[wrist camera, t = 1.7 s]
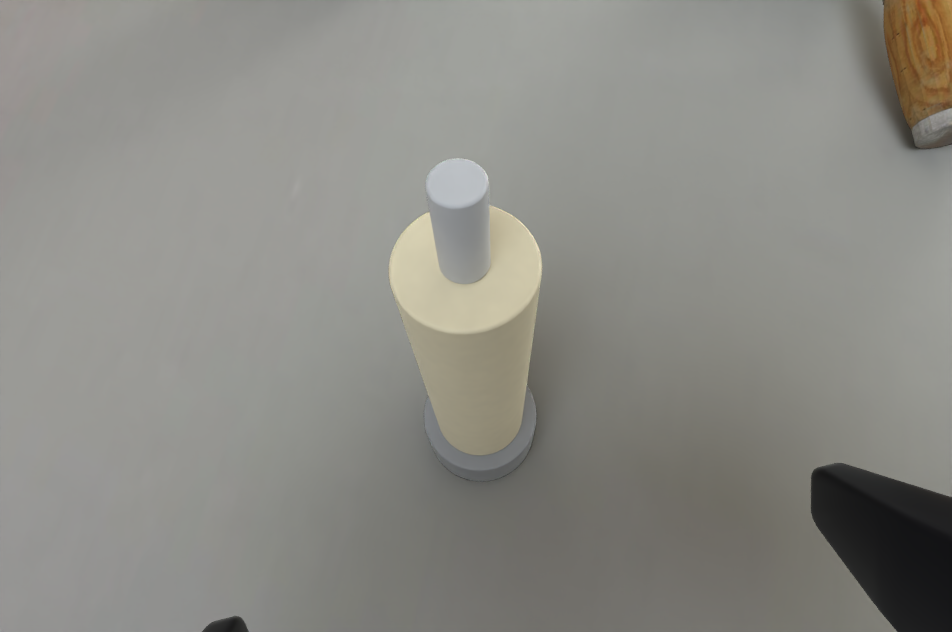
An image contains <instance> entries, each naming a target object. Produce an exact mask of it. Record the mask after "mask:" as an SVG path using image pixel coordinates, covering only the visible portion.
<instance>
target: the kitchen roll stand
mask: <svg viewBox="0 0 952 632" xmlns="http://www.w3.org/2000/svg"><path fill="white" fill-rule="evenodd" d="M425 189H426V195H427V201H428V206H429V212H427V213H425V214H424V215H422V216H420V217H419V218H418V219H416V220H415V221H413V222H412V223H411V224H410V225H409V226H408V227H407V228H406V229H405V230H404V232H403V233H402V234H401V235H400V237H399V239H398V240H397V242H396V244H395V246H394V248H393V251H392V253H391V257H390V261H389V281H390V286H391V289H392V292H393V295H394V298H395V300H396V303H397V306H398V309H399V312H400V315H401V318H402V321H403V323H404V326H405V329H406V332H407V335H408V338H409V341H410V344H411V347H412V349H413V352H414V355H415V358H416V361H417V364H418V367H419V370H420V372H421V375H422V378H423V381H424V384H425V387H426V390H427V393H428V397H427V400H426V403H425V408H424V425H425V431H426V433H427V436H428V439H429V441H430V443H431V446H432V448H433V450H434V452H435V454H436V456H437V458H438V459H439V461H440V462H441V463H442V464H443V465H444V466H445V467H446V468H447V469H448V470H449V471H451V472H452V473H454V474H455V475H457V476H459V477H461V478H464V479H467V480H472V481H491V480H495V479H498V478H501V477H504V476H505V475H507V474H509V473H511V472H512V471H513V470H515V469H516V468H517V467H518V466H519V465H520V464H521V463H522V461H523V460H524V459H525V457H526V455H527V454H528V452H529V449H530V447H531V444H532V440H533V436H534V431H535V427H536V406H535V402H534V398H533V396H532V394H531V391H530V390H529V388H528V386H527V379H528V372H529V364H530V357H531V349H532V342H533V335H534V327H535V320H536V312H537V305H538V298H539V290H540V283H541V276H542V259H541V254H540V250H539V247H538V245H537V243H536V241H535V239H534V237H533V236H532V234H531V233H530V231H529V230H528V229H527V228H526V227H525V226H524V225H523V224H522V223H521V222H520V221H519V220H518V219H517V218H515V217H514V216H512V215H511V214H509V213H507V212H505V211H503V210H501V209H499V208H496V207H493V206H489V180H488V176H487V174H486V172H485V171H484V170H483V168H482V167H481V166H479V165H478V164H477V163H475V162H473V161H471V160H467V159H461V158H455V159H449V160H446V161H443V162H441V163H439V164H437V165H436V166H435V167H434V168H433V169H432V170H431V171H430V173H429V174H428V176H427V179H426V182H425Z"/></svg>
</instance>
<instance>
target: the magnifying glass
mask: <svg viewBox="0 0 952 632" xmlns="http://www.w3.org/2000/svg"><path fill="white" fill-rule="evenodd" d="M883 5H884V35H885V42H886V48H887V53H888V58H889V63H890V67H891V72H892V76H893V80H894V83H895V87H896V91H897V94H898V98H899V101H900V105H901V108H902V111H903V114H904V117H905V119H906V121H907V124H908V125H909V127H910V129H911V130H912V135H913V139H914V143H915V146H916V147H918V148H926V149H930V148H936V147H942V146H946V145H950V144H952V0H883Z"/></svg>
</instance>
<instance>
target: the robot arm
mask: <svg viewBox="0 0 952 632" xmlns="http://www.w3.org/2000/svg"><path fill="white" fill-rule="evenodd" d="M811 513H812V517H813V520H814V522H815V524H816V526H817V527H818V529H819V530H820V531H821V533H822V534H823V536H824V537H825V538H826V540H827V541H828V542H829V544H830V545H831V546H832V548H833V549H834V550H835V552H836V553H837V554H838V556H839V557H840V558H841V560H842V561H843V562H844V564H845V565H846V566H847V568H848V569H849V570H850V572H851V573H852V575H853V576H854V577H855V579H856V580H857V581H858V583H859V584H860V585H861V587H862V588H863V589H864V591H865V592H866V593H867V595H868V596H869V597H870V599H871V600H872V601H873V603H874V604H875V605H876V606H877V608H878V609H879V610H880V612H881V613H882V614H883V615H884V617H885V618H886V619H887V620H888V621H889V622H890V624H891V625H892V626H893V627H894V628H895V629H896V631H897V632H952V497H949V496H946V495H942V494H939V493H936V492H933V491H930V490H926V489H923V488H920V487H917V486H914V485H911V484H907V483H904V482H901V481H898V480H895V479H891V478H888V477H885V476H882V475H879V474H875V473H872V472H869V471H866V470H863V469H859V468H856V467H853V466H850V465H847V464H843V463H834V464H830V465H826V466H822V467H818V468H816V469H815V470H814V471H813V473H812V475H811ZM202 632H249V631H248V629H247V627H246V624H245V622H244V621H243V619H242V618H241V617H239V616H233V617H229V618H225V619H221V620H218V621H214V622H212V623H210V624H209V625H208V626H207V627H206V628H205V629H204V630H203V631H202Z"/></svg>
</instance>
